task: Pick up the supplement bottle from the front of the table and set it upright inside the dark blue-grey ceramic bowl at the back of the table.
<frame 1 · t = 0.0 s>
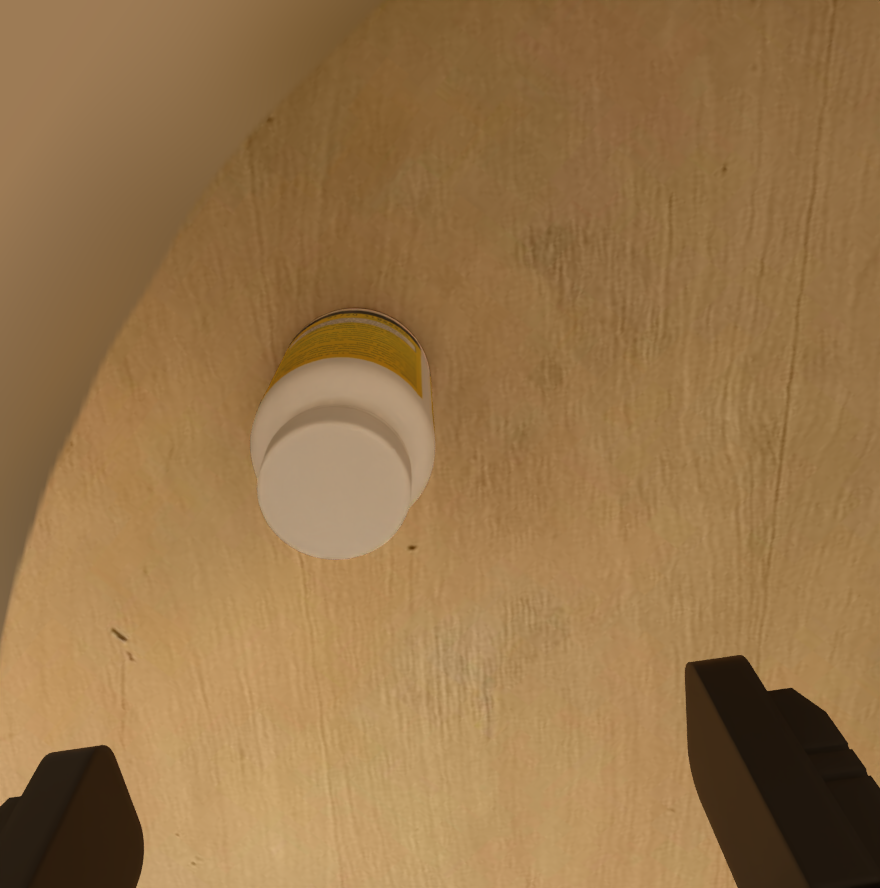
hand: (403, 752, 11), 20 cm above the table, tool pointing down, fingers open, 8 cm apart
supplement bottle: (357, 376, 30), on the table
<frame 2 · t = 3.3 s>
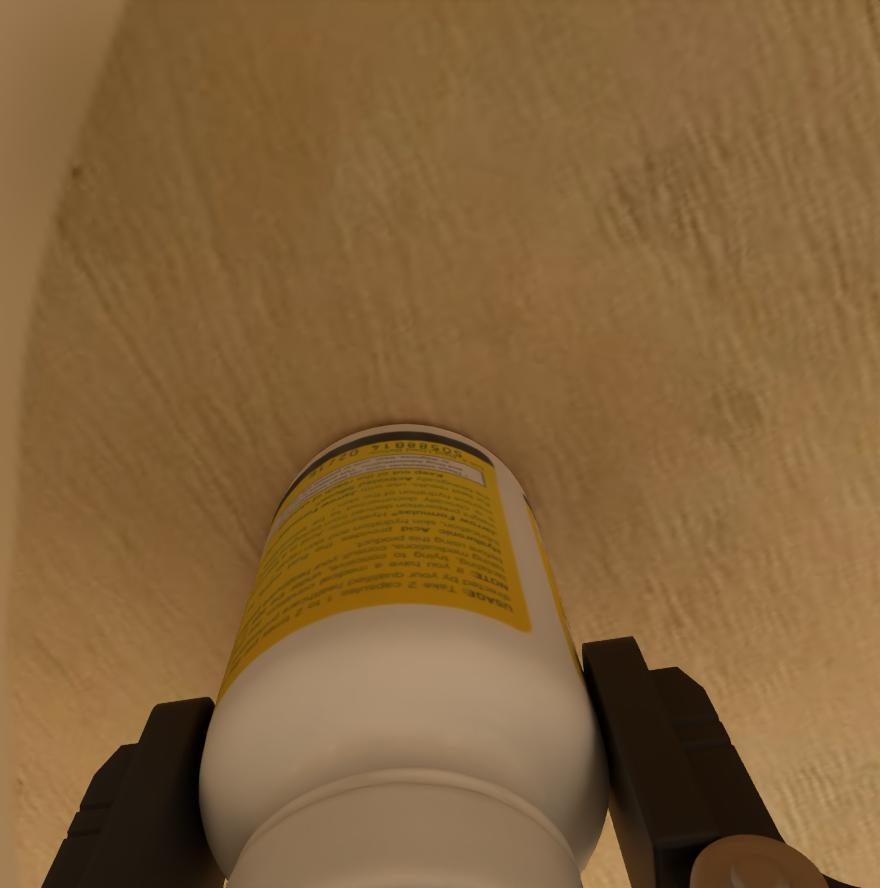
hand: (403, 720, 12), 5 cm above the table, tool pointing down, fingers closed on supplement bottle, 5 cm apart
supplement bottle: (404, 534, 17), on the table, touching gripper
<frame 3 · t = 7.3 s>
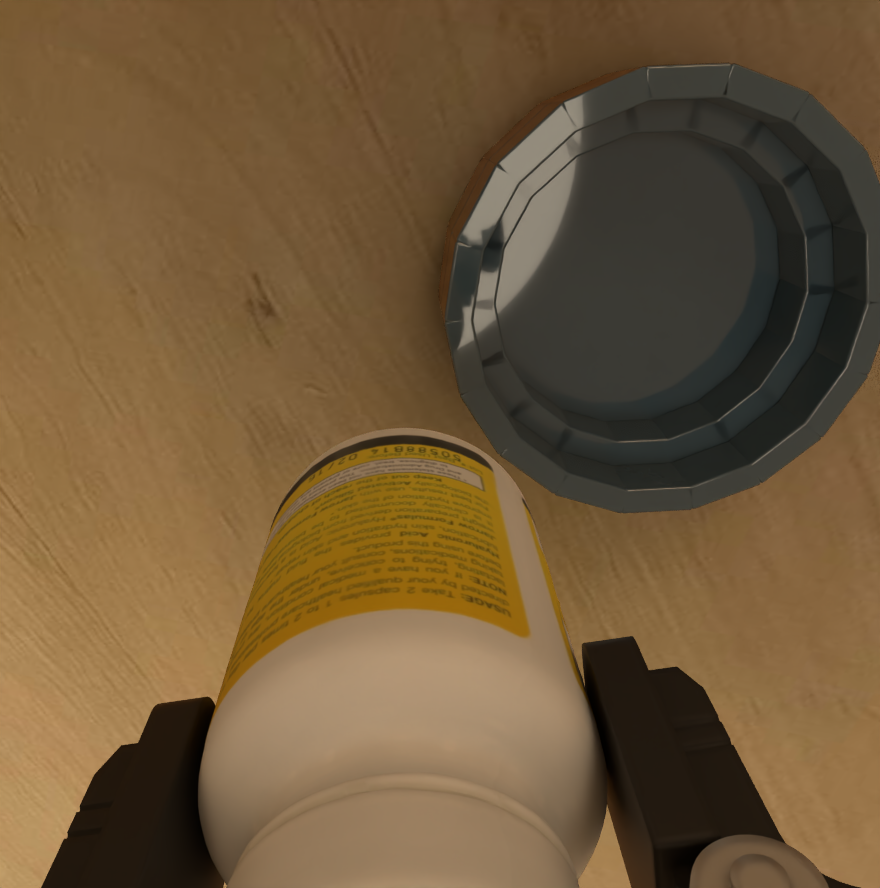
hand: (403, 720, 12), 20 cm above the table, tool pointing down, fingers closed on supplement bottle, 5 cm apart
bowl: (629, 280, 30), on the table
supplement bottle: (404, 538, 17), point 14 cm above the table, touching gripper
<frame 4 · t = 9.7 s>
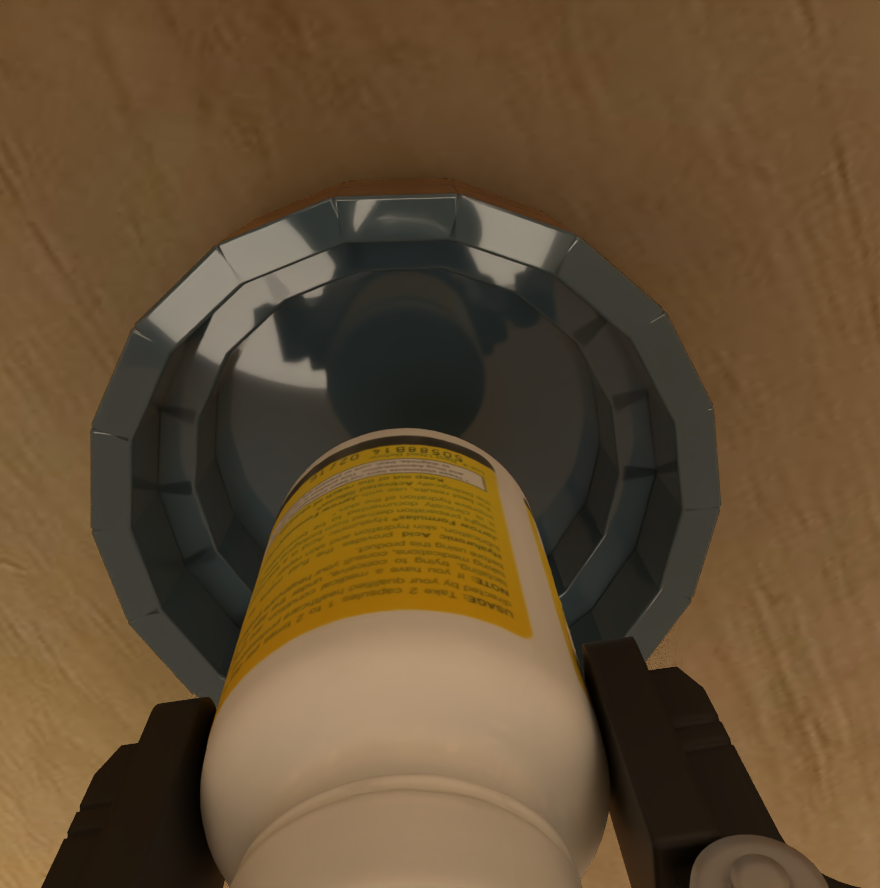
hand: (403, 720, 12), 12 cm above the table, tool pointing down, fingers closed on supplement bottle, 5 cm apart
bowl: (408, 437, 23), on the table
supplement bottle: (405, 538, 17), point 6 cm above the table, touching gripper
when the fingers open (6 cm above the table, at t = 11.5 s): supplement bottle stays where it is, resting on bowl.
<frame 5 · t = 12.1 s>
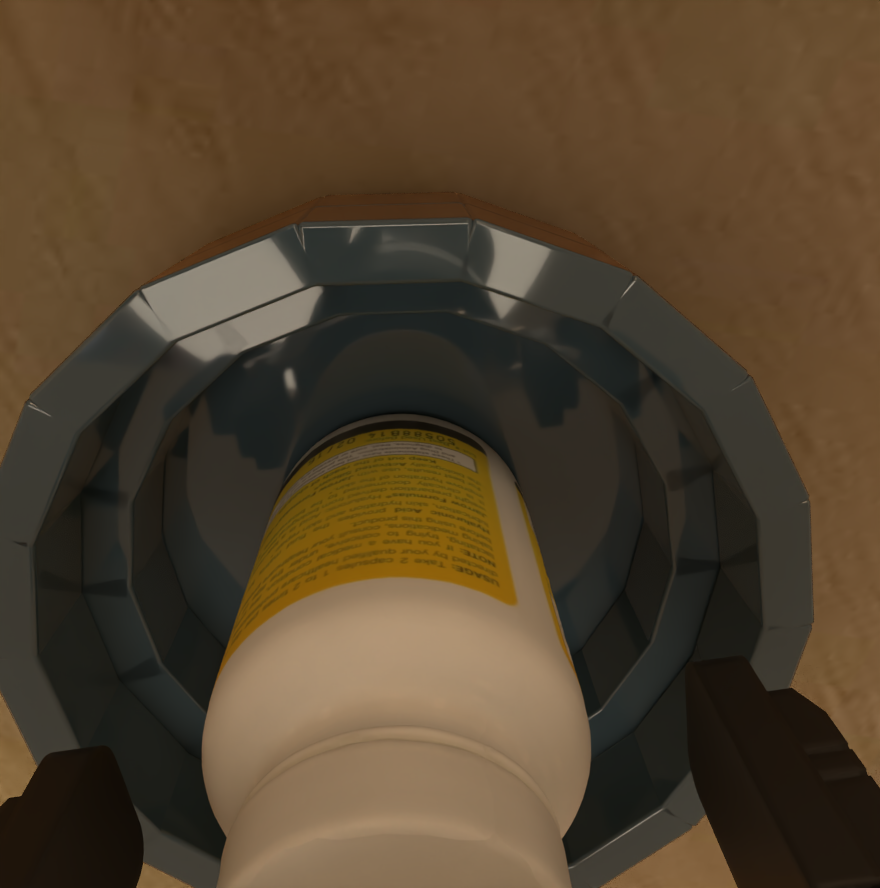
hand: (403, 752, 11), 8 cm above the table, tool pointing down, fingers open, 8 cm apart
bowl: (404, 510, 18), on the table
supplement bottle: (401, 521, 18), point 1 cm above the table, touching bowl
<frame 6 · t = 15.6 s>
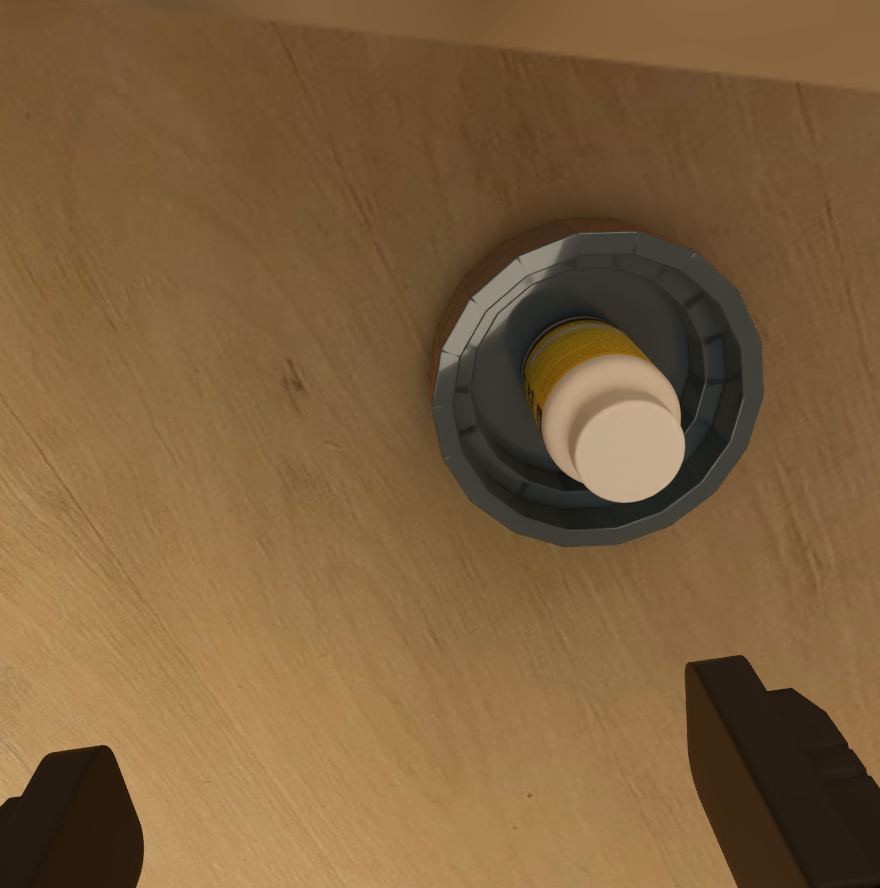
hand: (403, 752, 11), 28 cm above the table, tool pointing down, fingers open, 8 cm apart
bowl: (575, 367, 39), on the table
supplement bottle: (576, 370, 38), point 1 cm above the table, touching bowl
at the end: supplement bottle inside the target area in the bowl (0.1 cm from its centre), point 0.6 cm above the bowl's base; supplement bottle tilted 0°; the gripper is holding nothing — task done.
